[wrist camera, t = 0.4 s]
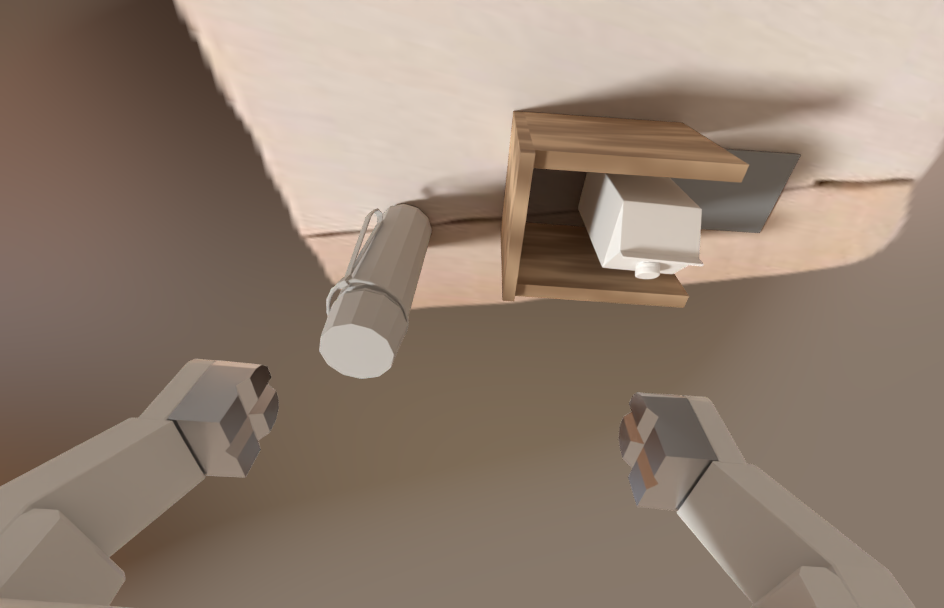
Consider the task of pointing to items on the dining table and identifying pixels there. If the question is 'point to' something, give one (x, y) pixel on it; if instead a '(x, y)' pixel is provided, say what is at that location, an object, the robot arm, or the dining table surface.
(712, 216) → the mat
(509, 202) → the shelf bay
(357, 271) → the water bottle
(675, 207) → the milk carton
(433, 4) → the dining table surface
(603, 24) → the dining table surface
